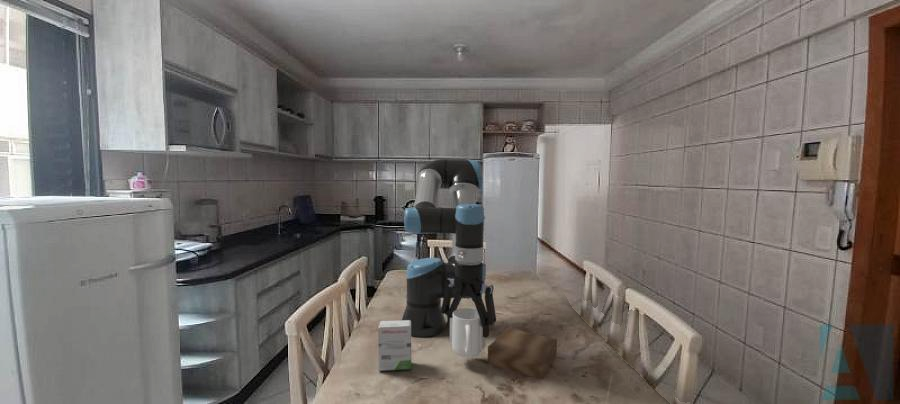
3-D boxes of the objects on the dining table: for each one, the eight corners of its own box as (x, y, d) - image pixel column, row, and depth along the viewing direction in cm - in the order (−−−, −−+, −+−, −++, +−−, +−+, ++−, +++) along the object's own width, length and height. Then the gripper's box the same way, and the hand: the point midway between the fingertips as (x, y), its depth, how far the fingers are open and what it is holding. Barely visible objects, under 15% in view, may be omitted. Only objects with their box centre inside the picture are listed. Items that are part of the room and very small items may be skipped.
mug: (484, 365, 88) (485, 326, 87) (451, 365, 88) (452, 325, 87) (481, 343, 100) (481, 307, 99) (452, 342, 100) (452, 307, 99)
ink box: (411, 360, 97) (411, 318, 96) (411, 370, 92) (411, 326, 91) (379, 361, 96) (379, 319, 95) (377, 371, 91) (377, 327, 91)
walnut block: (487, 364, 96) (487, 346, 96) (507, 343, 109) (507, 327, 109) (541, 380, 89) (542, 361, 89) (556, 356, 102) (556, 339, 101)
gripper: (428, 259, 96) (427, 339, 98) (500, 270, 86) (498, 360, 87) (442, 254, 103) (441, 329, 104) (511, 264, 92) (508, 347, 94)
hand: (467, 343), depth 96 cm, fingers closed on mug, 8 cm apart
